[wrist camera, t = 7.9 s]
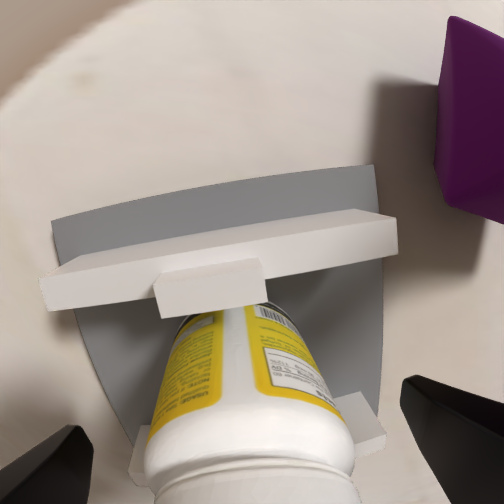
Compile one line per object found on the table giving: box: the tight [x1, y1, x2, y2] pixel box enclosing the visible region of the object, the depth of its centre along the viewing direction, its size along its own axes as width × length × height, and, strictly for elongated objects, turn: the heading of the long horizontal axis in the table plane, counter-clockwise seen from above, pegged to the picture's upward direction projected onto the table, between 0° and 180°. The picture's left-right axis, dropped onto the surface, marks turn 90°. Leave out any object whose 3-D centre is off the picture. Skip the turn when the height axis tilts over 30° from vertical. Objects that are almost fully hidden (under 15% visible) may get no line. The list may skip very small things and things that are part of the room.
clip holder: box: [38, 164, 398, 487], centre depth 10 cm, size 12×12×5 cm
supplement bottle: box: [144, 301, 362, 504], centre depth 7 cm, size 5×5×8 cm
